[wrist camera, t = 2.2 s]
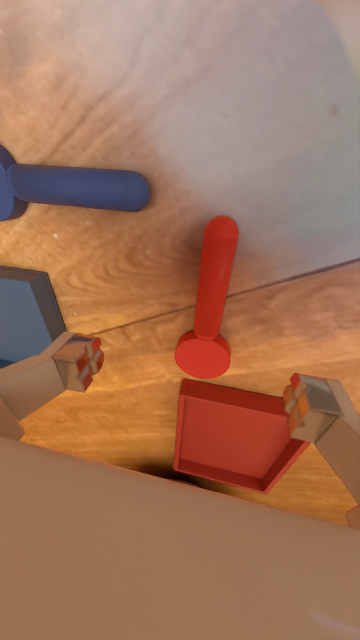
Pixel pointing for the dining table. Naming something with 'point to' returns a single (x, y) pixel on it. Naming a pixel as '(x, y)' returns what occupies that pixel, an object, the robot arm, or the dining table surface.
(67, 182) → the blue spoon
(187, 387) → the red tray
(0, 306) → the blue tray
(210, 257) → the red spoon
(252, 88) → the dining table surface
